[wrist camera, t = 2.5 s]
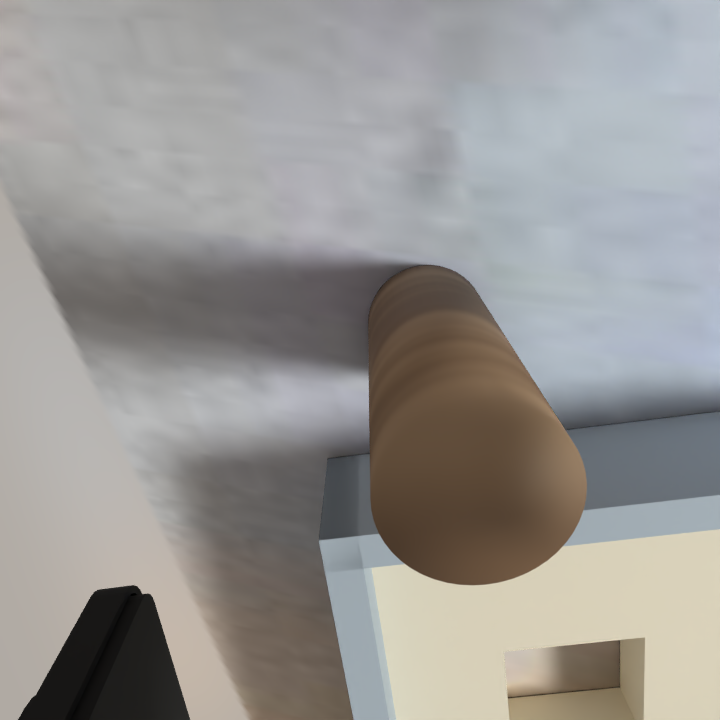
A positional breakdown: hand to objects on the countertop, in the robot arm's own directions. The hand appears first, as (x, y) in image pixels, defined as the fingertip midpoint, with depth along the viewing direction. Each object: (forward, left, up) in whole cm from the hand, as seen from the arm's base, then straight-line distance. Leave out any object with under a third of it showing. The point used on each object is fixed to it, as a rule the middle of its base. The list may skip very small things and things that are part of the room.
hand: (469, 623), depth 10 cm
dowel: (0, +1, -14) cm, 14 cm away
